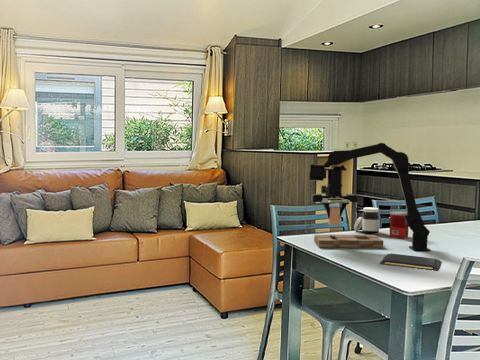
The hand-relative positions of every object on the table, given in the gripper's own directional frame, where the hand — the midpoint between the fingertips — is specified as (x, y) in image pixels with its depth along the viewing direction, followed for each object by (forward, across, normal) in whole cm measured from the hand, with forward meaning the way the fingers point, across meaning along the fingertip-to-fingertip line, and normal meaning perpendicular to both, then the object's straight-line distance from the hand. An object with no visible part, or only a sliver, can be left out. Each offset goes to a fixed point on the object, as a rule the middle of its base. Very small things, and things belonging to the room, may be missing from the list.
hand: (333, 218), depth 197 cm
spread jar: (+11, -21, -26) cm, 35 cm away
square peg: (+2, 0, 0) cm, 2 cm away
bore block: (+11, -6, 0) cm, 13 cm away
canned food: (+11, -33, -16) cm, 38 cm away
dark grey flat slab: (+12, -22, +28) cm, 37 cm away
